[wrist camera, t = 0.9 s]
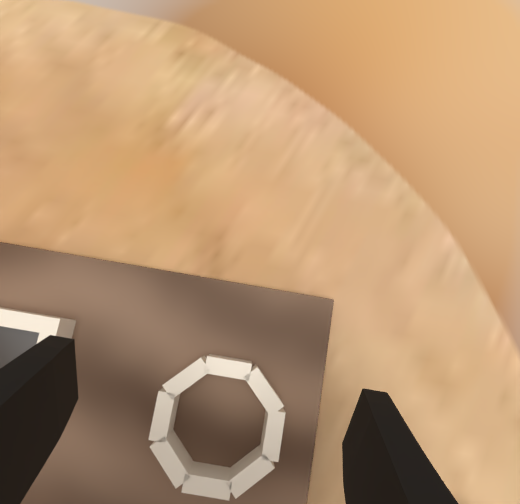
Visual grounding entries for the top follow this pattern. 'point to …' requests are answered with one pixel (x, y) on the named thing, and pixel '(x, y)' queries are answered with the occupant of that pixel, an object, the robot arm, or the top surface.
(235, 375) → the bore board
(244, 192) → the top surface
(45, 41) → the top surface
